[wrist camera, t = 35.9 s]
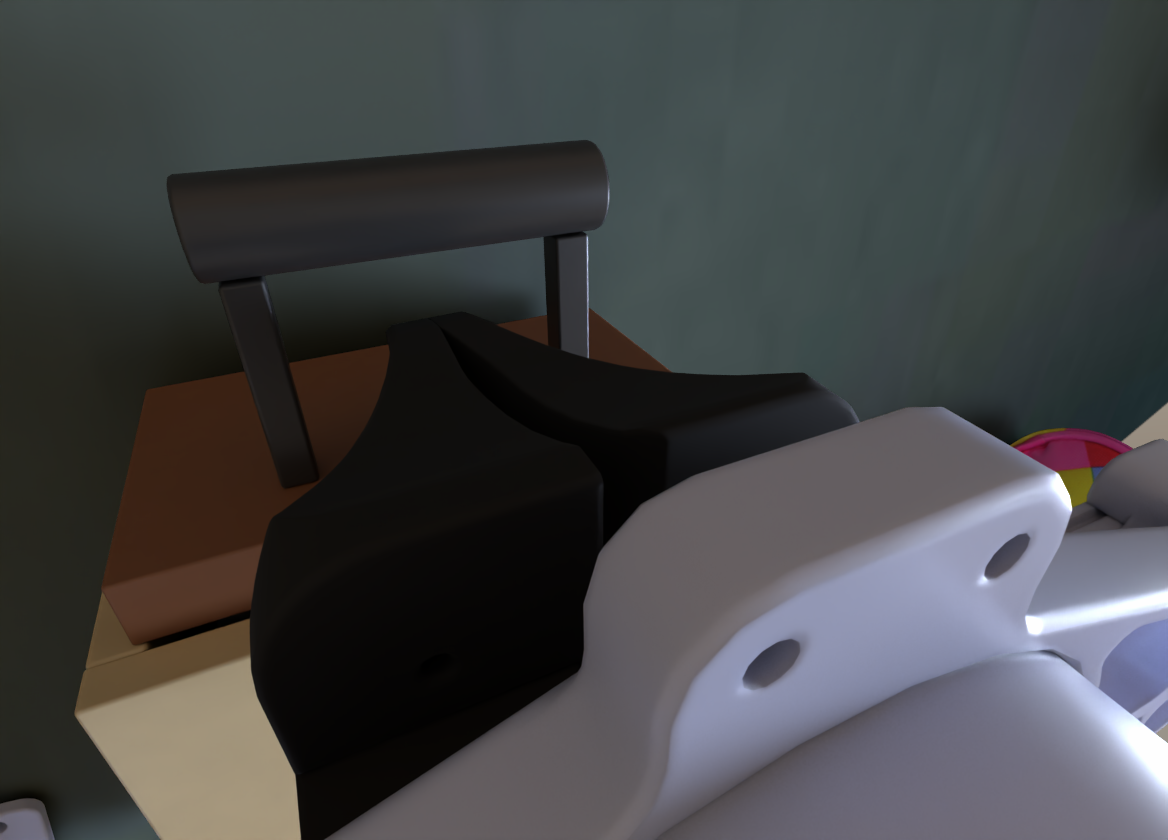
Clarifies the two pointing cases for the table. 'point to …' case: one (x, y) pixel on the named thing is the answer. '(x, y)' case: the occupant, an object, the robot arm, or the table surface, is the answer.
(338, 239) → the drawer
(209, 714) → the wooden drawer cabinet
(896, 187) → the table surface
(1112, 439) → the pencil case
